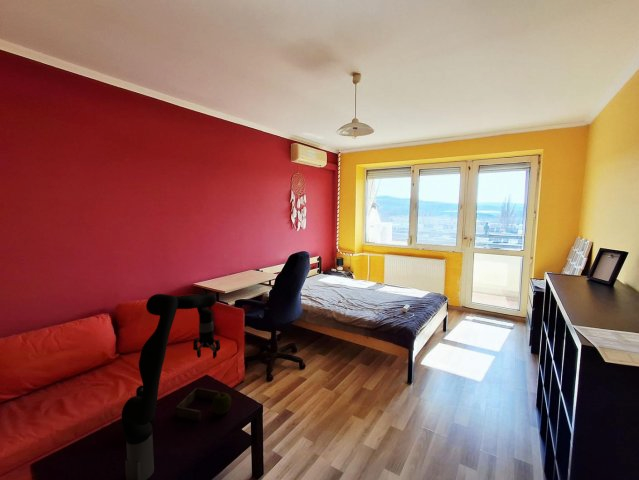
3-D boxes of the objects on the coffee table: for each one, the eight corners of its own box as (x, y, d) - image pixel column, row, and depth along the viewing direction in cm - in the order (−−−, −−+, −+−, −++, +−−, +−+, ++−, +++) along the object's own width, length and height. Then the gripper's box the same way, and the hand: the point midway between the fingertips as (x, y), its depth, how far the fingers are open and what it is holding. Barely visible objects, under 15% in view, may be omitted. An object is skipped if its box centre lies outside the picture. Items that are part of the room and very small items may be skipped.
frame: (199, 420, 154) (199, 411, 153) (175, 416, 157) (175, 407, 156) (218, 399, 171) (218, 391, 171) (196, 395, 174) (196, 387, 174)
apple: (228, 418, 156) (227, 399, 155) (209, 418, 156) (209, 398, 155) (233, 405, 166) (233, 387, 165) (216, 405, 166) (215, 387, 165)
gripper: (190, 331, 158) (191, 360, 159) (216, 332, 157) (216, 361, 159) (197, 325, 165) (197, 353, 167) (221, 327, 164) (222, 354, 166)
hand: (206, 357), depth 163 cm, fingers open, 8 cm apart
